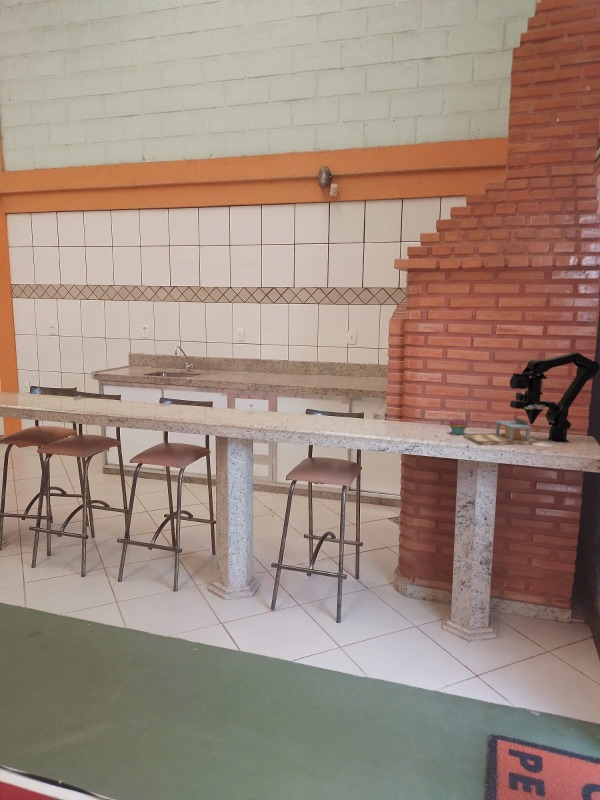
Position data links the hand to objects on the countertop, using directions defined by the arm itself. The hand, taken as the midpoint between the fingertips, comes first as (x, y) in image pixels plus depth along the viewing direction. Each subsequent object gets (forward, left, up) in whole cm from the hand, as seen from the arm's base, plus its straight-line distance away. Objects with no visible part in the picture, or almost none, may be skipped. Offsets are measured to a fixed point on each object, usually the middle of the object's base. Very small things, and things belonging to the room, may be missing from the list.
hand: (531, 424), depth 253 cm
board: (+14, 0, -8) cm, 16 cm away
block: (+9, 0, -7) cm, 11 cm away
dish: (0, +9, -8) cm, 12 cm away
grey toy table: (+9, 0, -6) cm, 10 cm away
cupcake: (+27, -16, -8) cm, 32 cm away
